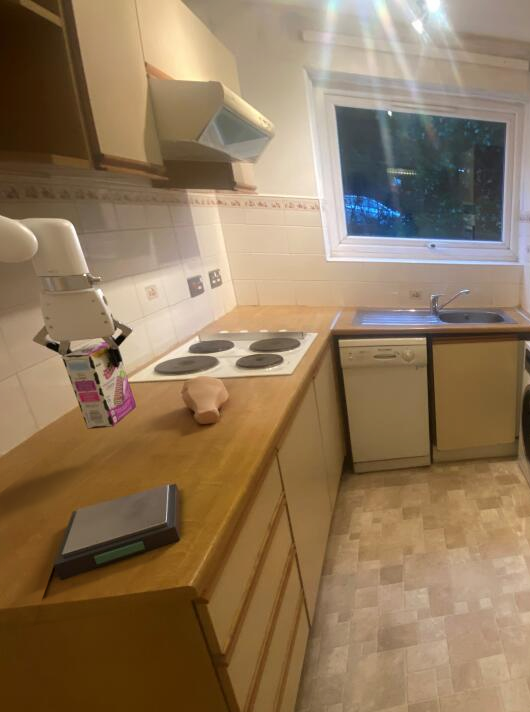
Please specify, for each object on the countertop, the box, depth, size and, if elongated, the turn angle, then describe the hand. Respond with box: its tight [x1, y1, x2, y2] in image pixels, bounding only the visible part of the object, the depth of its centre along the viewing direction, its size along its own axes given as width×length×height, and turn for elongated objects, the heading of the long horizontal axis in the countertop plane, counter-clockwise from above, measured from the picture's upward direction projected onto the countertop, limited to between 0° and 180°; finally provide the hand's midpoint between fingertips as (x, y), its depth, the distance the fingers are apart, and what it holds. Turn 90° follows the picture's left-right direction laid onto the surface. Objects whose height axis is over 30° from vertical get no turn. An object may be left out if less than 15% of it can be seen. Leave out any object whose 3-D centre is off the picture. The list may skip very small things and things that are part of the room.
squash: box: [180, 375, 230, 425], centre depth 120 cm, size 11×20×9 cm, turn 37°
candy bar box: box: [61, 341, 137, 430], centre depth 95 cm, size 11×5×16 cm, turn 18°
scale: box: [53, 483, 181, 580], centre depth 76 cm, size 15×16×3 cm
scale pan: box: [62, 484, 170, 558], centre depth 75 cm, size 13×13×1 cm
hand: (97, 367), depth 93 cm, fingers closed on candy bar box, 6 cm apart
